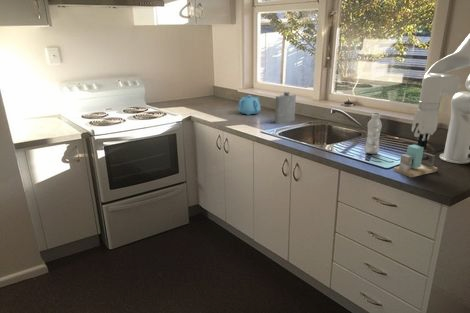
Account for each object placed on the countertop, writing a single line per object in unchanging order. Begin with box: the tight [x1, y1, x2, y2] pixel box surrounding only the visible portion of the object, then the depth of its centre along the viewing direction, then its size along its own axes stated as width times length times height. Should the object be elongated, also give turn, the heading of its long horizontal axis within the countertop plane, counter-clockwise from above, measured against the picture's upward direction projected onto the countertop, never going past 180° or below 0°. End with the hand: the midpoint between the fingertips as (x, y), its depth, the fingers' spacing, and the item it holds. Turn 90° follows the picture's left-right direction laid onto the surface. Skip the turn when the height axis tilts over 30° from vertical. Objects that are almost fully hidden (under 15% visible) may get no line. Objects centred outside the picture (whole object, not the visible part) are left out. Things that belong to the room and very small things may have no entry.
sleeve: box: [406, 144, 425, 168], centre depth 155 cm, size 4×5×9 cm
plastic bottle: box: [364, 112, 383, 155], centre depth 178 cm, size 6×7×20 cm
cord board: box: [392, 152, 438, 178], centre depth 157 cm, size 16×9×8 cm, turn 116°
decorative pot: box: [237, 94, 261, 116], centre depth 267 cm, size 16×16×14 cm
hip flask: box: [274, 91, 297, 124], centre depth 241 cm, size 16×4×20 cm, turn 123°
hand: (421, 148), depth 156 cm, fingers closed
